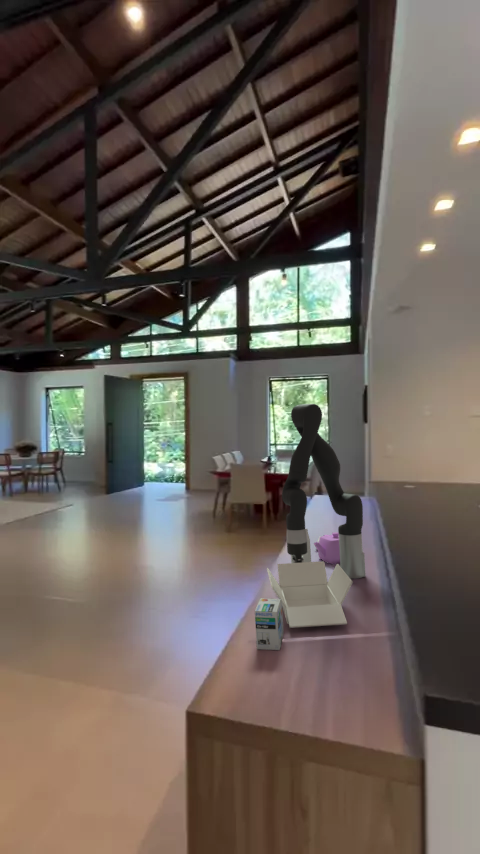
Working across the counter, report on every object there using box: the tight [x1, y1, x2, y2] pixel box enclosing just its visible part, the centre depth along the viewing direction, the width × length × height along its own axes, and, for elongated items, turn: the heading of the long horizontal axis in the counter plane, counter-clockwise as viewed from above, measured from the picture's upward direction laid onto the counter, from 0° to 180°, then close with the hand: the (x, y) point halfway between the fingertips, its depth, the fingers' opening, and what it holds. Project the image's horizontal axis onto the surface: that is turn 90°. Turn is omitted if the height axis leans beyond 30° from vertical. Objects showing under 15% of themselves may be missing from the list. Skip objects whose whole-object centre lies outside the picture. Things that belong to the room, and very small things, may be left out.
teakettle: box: [313, 531, 340, 565], centre depth 215 cm, size 17×17×12 cm
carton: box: [266, 560, 354, 629], centre depth 153 cm, size 25×32×12 cm
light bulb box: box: [254, 597, 285, 651], centre depth 135 cm, size 11×7×11 cm, turn 168°
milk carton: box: [290, 528, 312, 563], centre depth 195 cm, size 7×7×19 cm
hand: (299, 585), depth 176 cm, fingers closed on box, 4 cm apart
